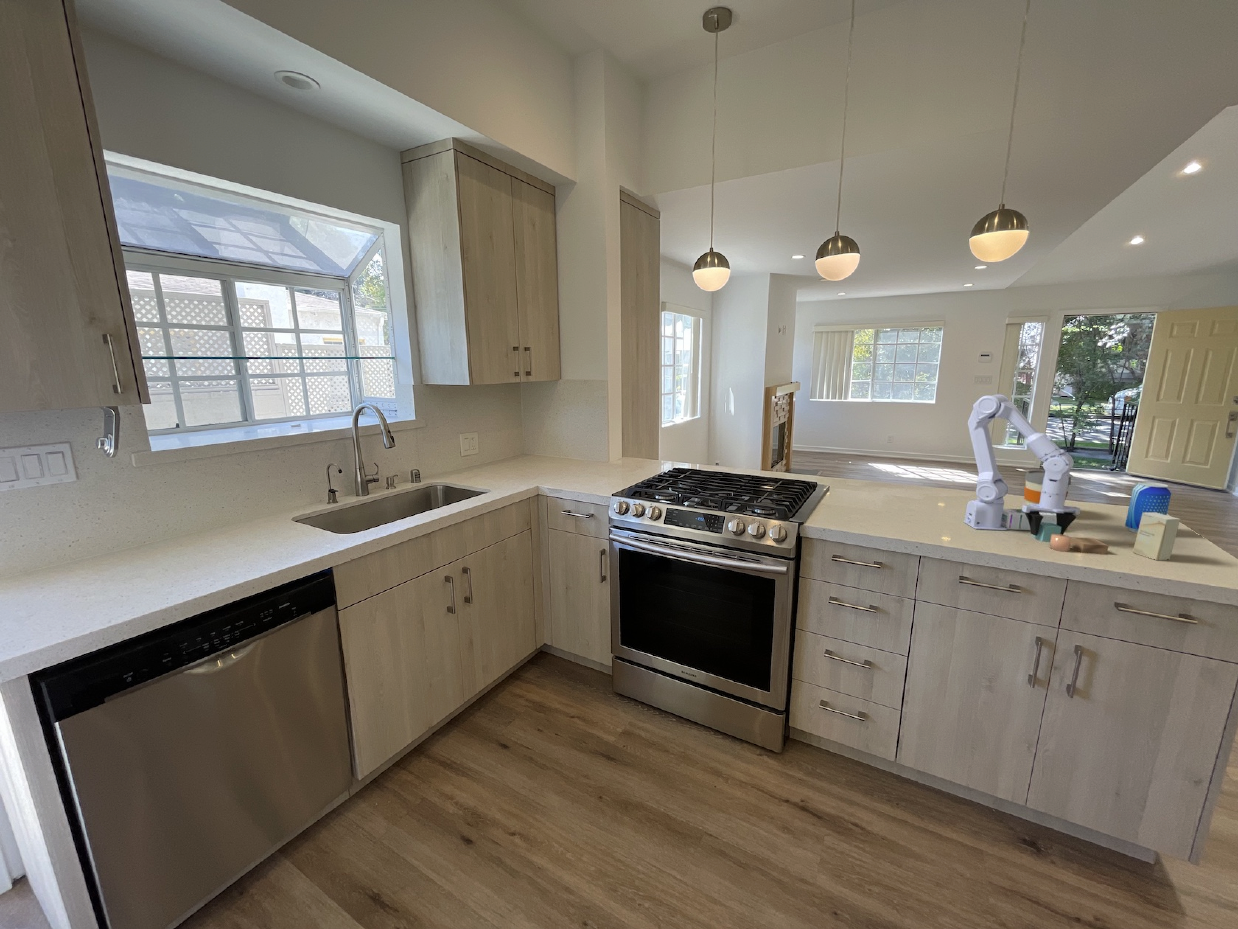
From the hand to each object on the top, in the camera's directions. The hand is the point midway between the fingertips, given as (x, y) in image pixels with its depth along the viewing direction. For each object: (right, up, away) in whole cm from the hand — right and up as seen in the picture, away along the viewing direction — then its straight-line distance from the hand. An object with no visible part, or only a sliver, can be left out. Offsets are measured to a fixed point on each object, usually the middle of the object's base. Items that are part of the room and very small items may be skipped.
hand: (1046, 535), depth 152 cm
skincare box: (+18, -4, -14) cm, 23 cm away
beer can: (+37, 0, +6) cm, 37 cm away
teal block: (0, -1, 0) cm, 2 cm away
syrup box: (+10, +3, +9) cm, 14 cm away
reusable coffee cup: (+21, +4, +26) cm, 33 cm away
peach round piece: (-3, -3, -8) cm, 9 cm away
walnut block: (+5, -3, -8) cm, 10 cm away
